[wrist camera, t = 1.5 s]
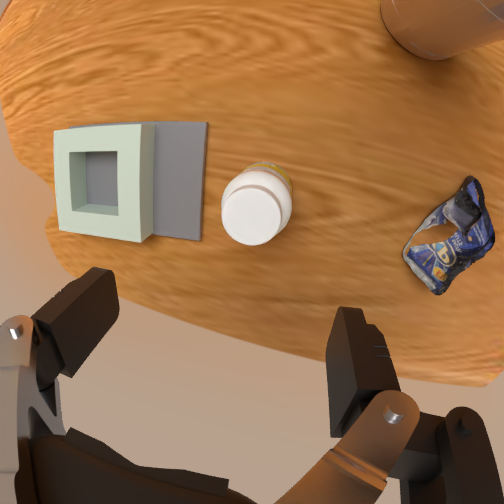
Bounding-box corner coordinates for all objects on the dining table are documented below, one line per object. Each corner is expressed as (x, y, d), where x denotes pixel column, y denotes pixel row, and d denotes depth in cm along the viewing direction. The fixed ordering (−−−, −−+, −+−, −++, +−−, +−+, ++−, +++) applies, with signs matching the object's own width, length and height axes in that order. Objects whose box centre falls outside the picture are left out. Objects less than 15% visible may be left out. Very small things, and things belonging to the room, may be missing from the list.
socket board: (73, 126, 27) (52, 128, 24) (208, 122, 26) (196, 121, 23) (76, 221, 32) (58, 231, 29) (201, 238, 31) (190, 252, 27)
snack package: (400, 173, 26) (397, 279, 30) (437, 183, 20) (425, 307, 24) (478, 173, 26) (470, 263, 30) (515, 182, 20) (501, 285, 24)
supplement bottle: (264, 149, 27) (250, 159, 18) (303, 189, 28) (309, 218, 19) (225, 188, 28) (195, 216, 20) (264, 226, 30) (252, 269, 21)
